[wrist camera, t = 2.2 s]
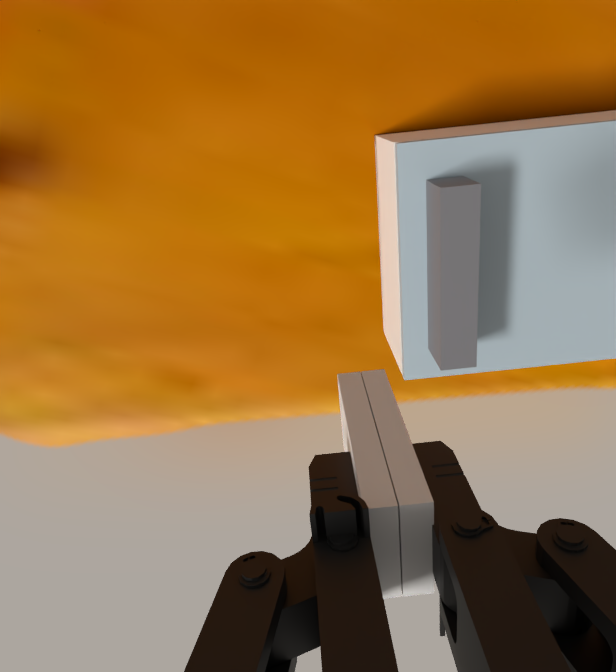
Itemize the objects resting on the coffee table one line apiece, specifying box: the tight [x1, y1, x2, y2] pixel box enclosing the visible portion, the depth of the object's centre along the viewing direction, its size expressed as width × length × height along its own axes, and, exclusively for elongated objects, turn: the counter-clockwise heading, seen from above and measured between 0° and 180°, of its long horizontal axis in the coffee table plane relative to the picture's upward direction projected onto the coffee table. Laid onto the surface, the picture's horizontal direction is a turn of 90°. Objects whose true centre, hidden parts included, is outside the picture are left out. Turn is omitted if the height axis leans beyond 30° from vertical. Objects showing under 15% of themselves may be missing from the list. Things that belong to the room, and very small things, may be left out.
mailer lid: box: [395, 120, 616, 380], centre depth 31 cm, size 20×14×4 cm
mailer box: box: [375, 110, 616, 374], centre depth 36 cm, size 20×14×7 cm
